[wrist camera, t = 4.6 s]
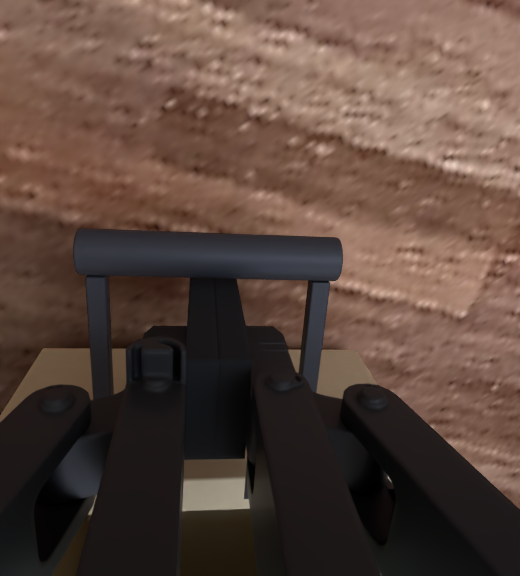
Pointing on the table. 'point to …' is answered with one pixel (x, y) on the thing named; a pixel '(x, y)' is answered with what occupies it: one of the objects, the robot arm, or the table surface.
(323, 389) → the drawer
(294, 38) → the table surface
